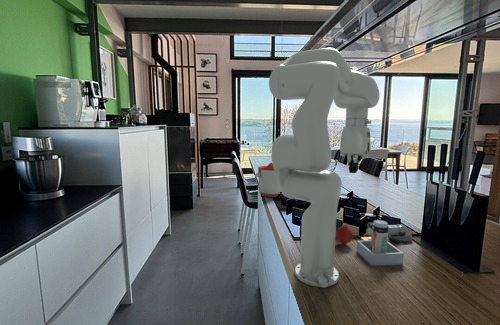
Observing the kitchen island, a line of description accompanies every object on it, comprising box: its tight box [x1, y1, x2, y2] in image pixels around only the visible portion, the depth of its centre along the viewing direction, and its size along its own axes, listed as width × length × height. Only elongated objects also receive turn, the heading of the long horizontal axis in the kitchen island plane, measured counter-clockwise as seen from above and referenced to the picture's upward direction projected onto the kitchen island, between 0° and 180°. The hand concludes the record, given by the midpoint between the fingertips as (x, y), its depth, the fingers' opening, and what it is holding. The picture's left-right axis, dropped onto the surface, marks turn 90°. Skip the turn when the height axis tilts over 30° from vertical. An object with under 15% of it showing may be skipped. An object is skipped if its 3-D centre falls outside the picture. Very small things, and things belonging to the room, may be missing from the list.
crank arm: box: [366, 222, 407, 237], centre depth 108 cm, size 15×4×4 cm, turn 94°
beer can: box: [370, 219, 389, 254], centre depth 93 cm, size 5×5×12 cm
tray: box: [355, 240, 405, 268], centre depth 93 cm, size 10×10×4 cm
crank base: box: [360, 231, 413, 244], centre depth 108 cm, size 8×19×2 cm, turn 96°
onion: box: [335, 223, 354, 246], centre depth 103 cm, size 6×6×8 cm
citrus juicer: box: [254, 162, 281, 198], centre depth 169 cm, size 16×17×20 cm
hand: (353, 172), depth 106 cm, fingers closed
